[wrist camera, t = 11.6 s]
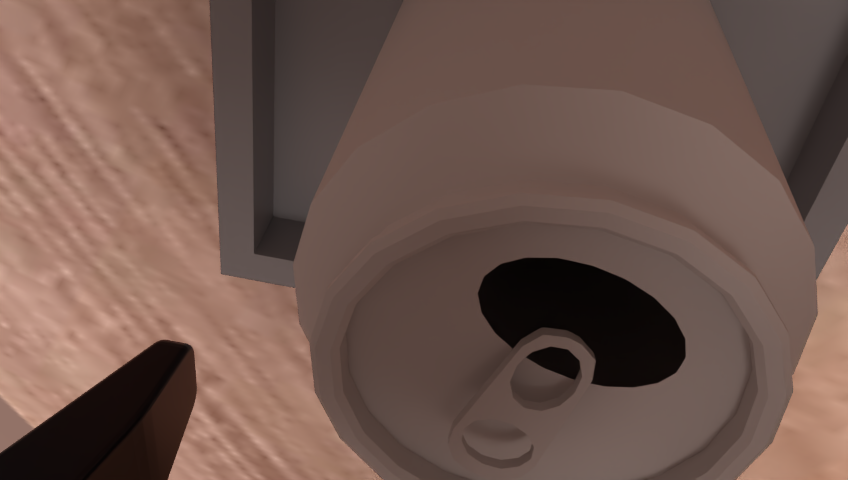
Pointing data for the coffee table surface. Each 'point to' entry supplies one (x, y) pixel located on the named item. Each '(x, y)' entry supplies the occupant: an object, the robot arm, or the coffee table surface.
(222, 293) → the coffee table surface
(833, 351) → the coffee table surface
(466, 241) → the can
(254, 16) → the tray
